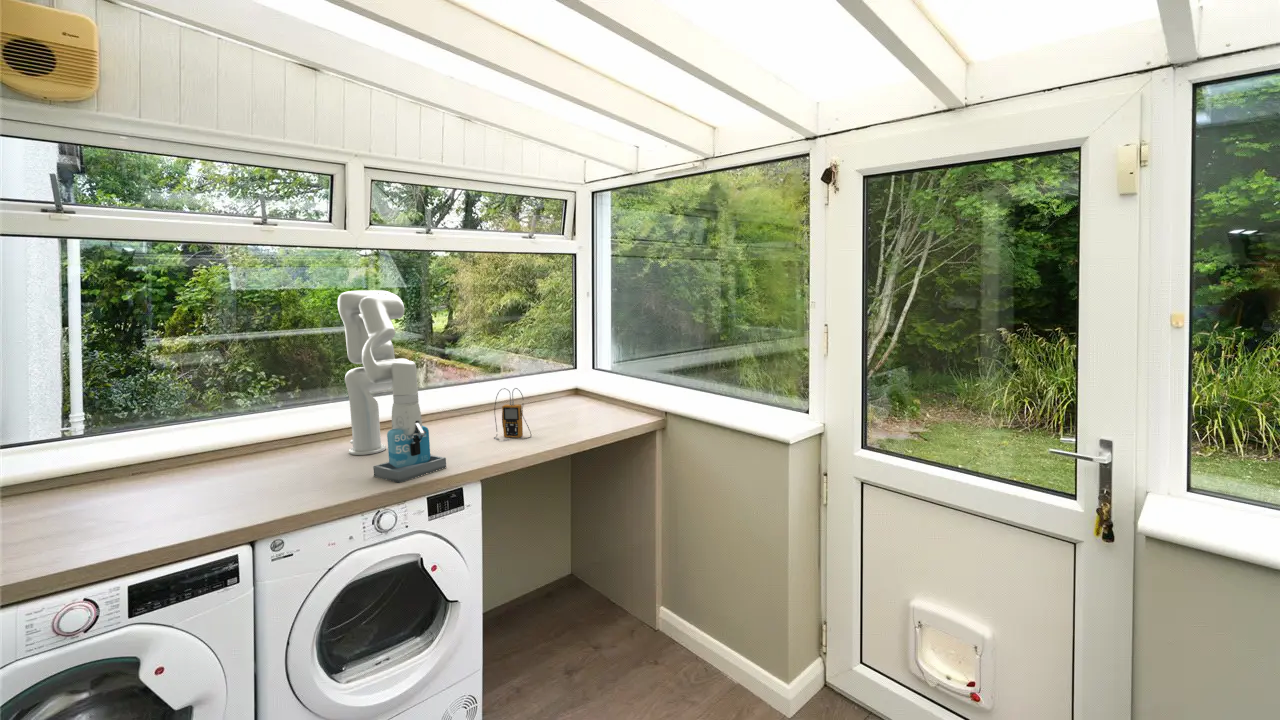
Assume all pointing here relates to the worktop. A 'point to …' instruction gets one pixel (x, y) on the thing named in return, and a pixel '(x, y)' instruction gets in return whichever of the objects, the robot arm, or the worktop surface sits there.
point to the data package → (406, 448)
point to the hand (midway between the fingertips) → (409, 453)
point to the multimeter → (512, 419)
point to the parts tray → (408, 469)
